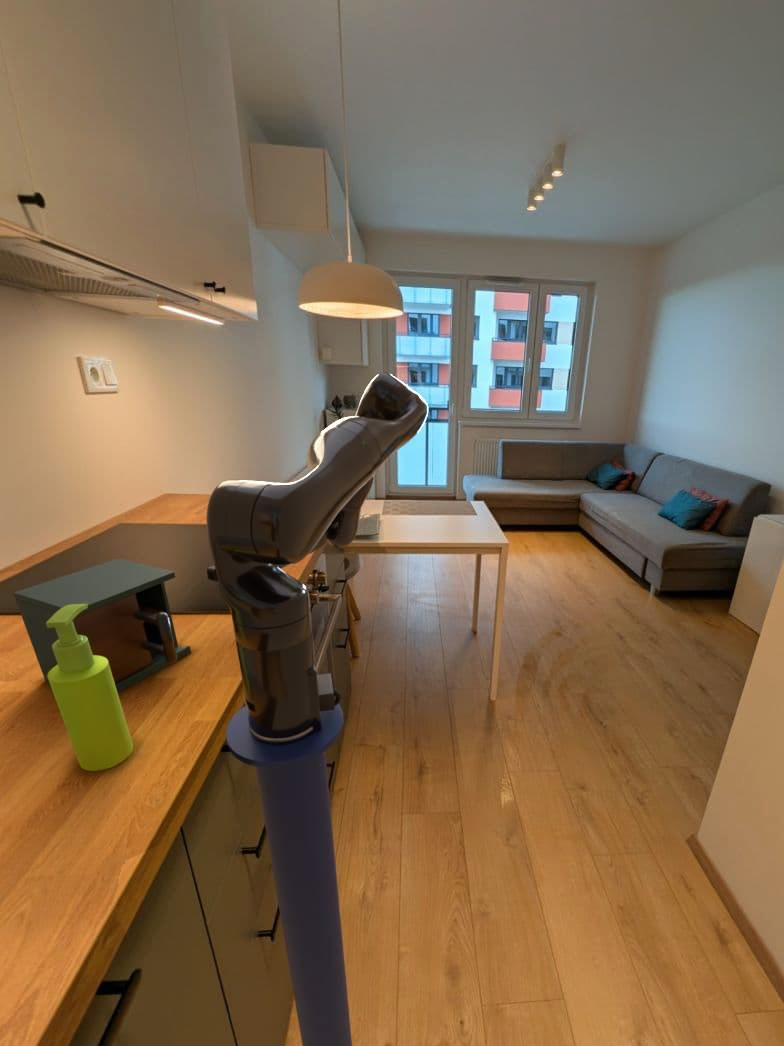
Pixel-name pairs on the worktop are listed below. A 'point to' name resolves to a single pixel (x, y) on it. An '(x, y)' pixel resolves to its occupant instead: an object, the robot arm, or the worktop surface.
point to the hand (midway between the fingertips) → (210, 575)
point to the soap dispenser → (87, 697)
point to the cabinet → (98, 606)
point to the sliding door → (125, 636)
